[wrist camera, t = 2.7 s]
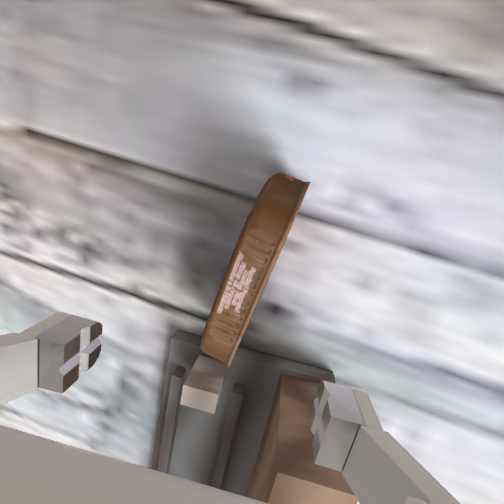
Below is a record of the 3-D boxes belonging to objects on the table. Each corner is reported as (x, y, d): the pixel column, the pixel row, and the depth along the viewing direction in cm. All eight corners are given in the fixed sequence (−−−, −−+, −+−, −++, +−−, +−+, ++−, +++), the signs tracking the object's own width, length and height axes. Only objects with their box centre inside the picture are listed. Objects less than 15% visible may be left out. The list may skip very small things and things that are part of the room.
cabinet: (332, 371, 26) (361, 491, 16) (278, 530, 32) (274, 690, 22) (177, 330, 27) (110, 416, 17) (152, 490, 33) (93, 624, 23)
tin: (245, 331, 26) (226, 395, 18) (216, 318, 26) (183, 377, 18) (309, 185, 22) (322, 183, 14) (275, 171, 22) (267, 161, 14)
